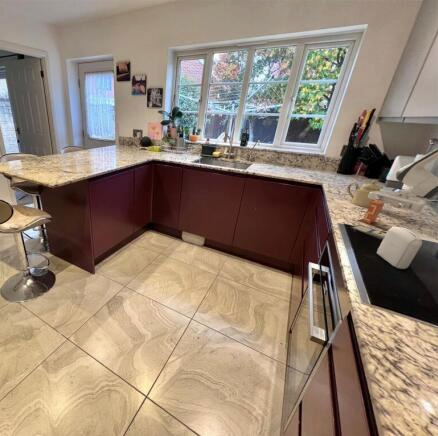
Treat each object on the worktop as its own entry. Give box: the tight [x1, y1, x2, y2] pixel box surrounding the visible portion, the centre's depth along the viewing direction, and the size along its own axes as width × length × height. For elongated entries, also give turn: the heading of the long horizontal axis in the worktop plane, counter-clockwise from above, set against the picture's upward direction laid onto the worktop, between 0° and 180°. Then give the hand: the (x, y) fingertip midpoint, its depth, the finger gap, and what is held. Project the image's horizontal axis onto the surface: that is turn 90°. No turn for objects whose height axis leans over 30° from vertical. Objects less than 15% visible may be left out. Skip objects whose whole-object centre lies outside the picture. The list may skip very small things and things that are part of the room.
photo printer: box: [376, 226, 423, 270], centre depth 80 cm, size 10×4×12 cm, turn 169°
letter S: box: [362, 201, 385, 224], centre depth 109 cm, size 3×5×10 cm, turn 116°
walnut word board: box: [356, 218, 393, 232], centre depth 106 cm, size 18×8×2 cm, turn 26°
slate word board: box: [350, 224, 387, 241], centre depth 99 cm, size 18×8×2 cm, turn 26°
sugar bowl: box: [347, 179, 382, 208], centre depth 134 cm, size 15×11×15 cm
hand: (388, 202), depth 112 cm, fingers open, 8 cm apart
